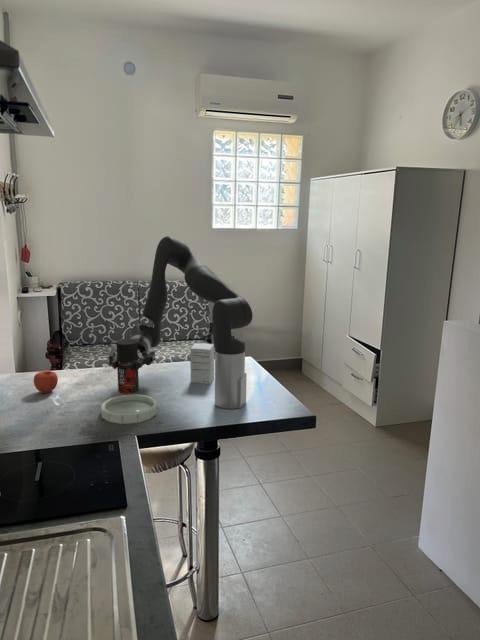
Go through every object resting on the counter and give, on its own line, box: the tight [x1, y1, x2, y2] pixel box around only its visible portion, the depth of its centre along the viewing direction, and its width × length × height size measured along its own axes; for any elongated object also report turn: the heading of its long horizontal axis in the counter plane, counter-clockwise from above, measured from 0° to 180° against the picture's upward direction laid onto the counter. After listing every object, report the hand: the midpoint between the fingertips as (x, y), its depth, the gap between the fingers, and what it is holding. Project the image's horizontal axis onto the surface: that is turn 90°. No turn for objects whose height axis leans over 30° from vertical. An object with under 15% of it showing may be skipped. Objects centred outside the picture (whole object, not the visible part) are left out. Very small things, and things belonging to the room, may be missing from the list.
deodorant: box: [116, 338, 140, 395], centre depth 142 cm, size 6×6×15 cm
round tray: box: [100, 393, 158, 425], centre depth 144 cm, size 16×16×2 cm
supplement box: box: [189, 342, 215, 385], centre depth 172 cm, size 7×7×13 cm
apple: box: [33, 368, 59, 395], centre depth 159 cm, size 7×7×8 cm
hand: (126, 365), depth 139 cm, fingers closed on deodorant, 6 cm apart
